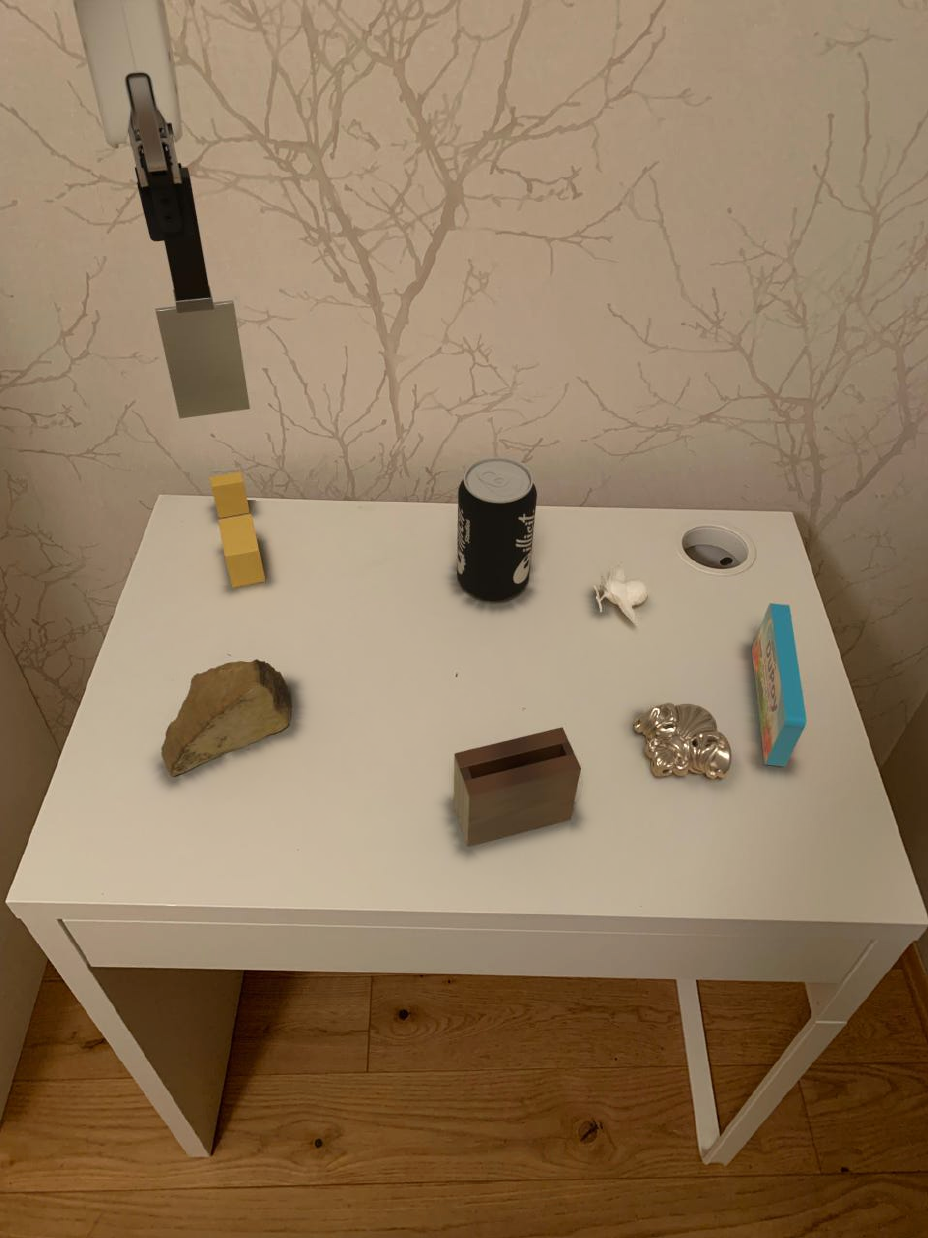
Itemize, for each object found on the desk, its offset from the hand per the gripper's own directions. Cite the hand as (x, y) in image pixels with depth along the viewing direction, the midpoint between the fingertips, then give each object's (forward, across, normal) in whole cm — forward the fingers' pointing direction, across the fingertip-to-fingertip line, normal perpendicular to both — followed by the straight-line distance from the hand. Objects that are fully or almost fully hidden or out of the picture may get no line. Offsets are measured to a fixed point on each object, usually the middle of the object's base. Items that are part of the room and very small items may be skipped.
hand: (171, 227), depth 67 cm
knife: (+16, 0, 0) cm, 16 cm away
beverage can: (+29, +14, +22) cm, 39 cm away
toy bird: (+29, +20, +32) cm, 47 cm away
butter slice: (+29, -2, 0) cm, 29 cm away
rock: (+29, +24, -4) cm, 38 cm away
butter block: (+29, +6, 0) cm, 30 cm away
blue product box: (+29, +34, +39) cm, 59 cm away
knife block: (+29, +37, +16) cm, 50 cm away
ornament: (+29, +36, +29) cm, 55 cm away
